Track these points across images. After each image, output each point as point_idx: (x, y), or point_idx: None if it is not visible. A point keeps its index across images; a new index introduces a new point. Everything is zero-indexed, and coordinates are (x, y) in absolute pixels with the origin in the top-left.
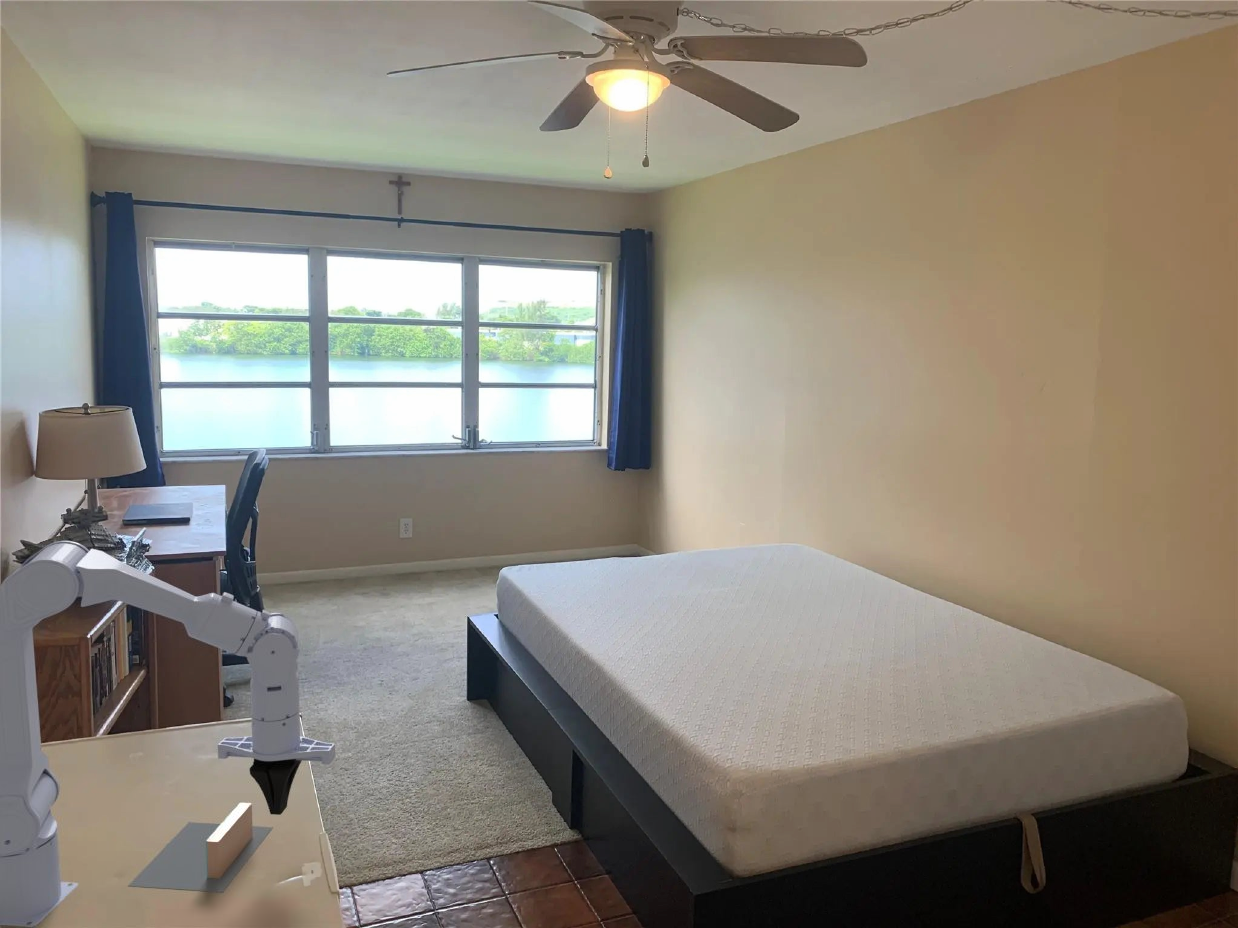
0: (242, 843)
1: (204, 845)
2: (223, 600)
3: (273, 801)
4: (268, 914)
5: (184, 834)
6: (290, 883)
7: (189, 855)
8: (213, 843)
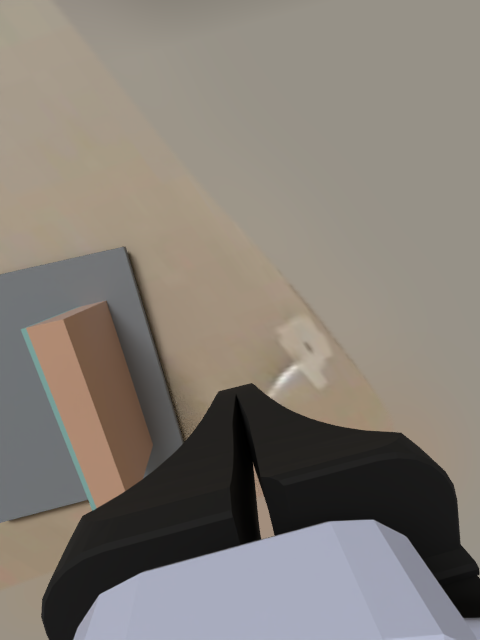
0: (117, 355)
1: (23, 367)
2: None
3: (254, 481)
4: None
5: None
6: (288, 393)
7: (24, 407)
8: None
